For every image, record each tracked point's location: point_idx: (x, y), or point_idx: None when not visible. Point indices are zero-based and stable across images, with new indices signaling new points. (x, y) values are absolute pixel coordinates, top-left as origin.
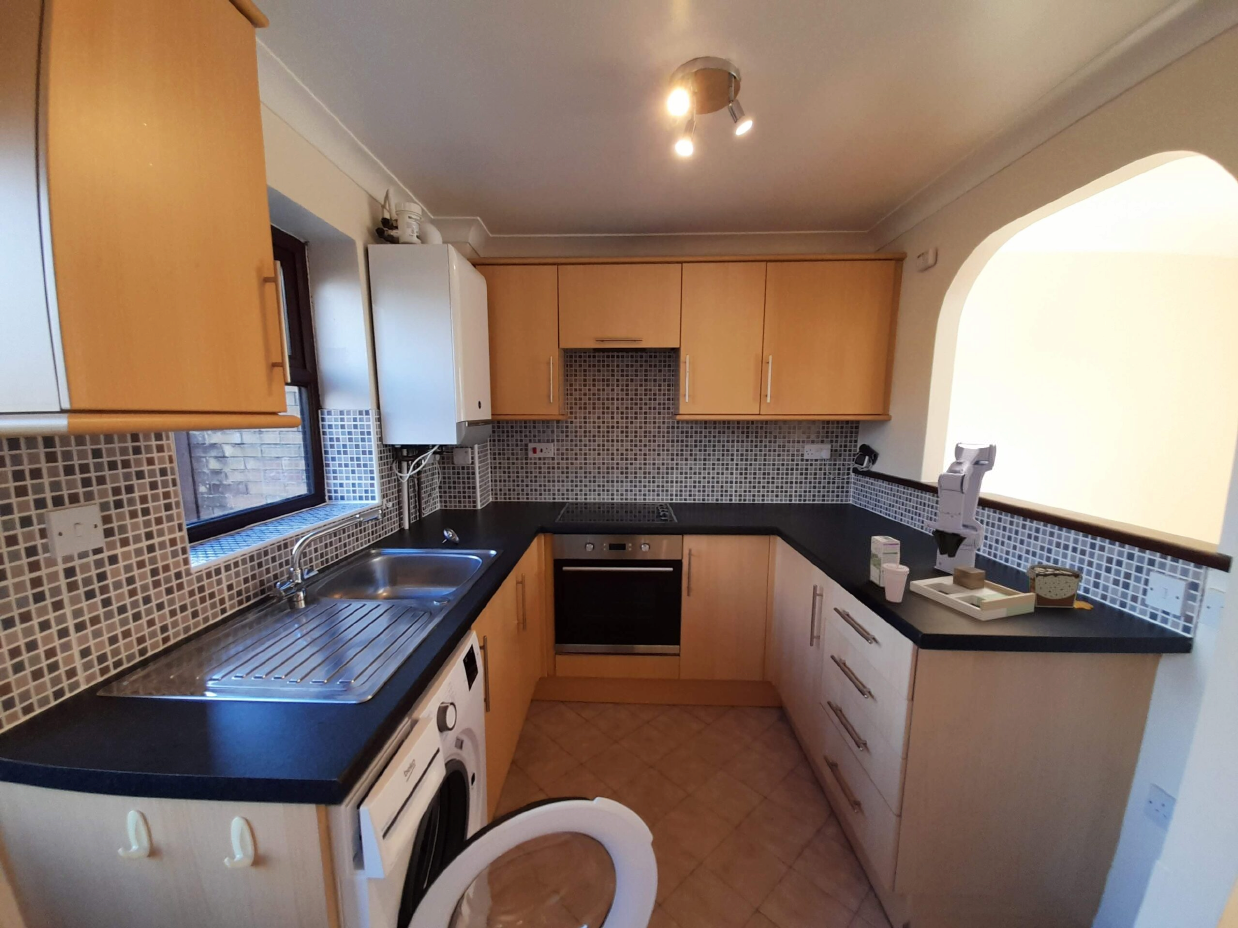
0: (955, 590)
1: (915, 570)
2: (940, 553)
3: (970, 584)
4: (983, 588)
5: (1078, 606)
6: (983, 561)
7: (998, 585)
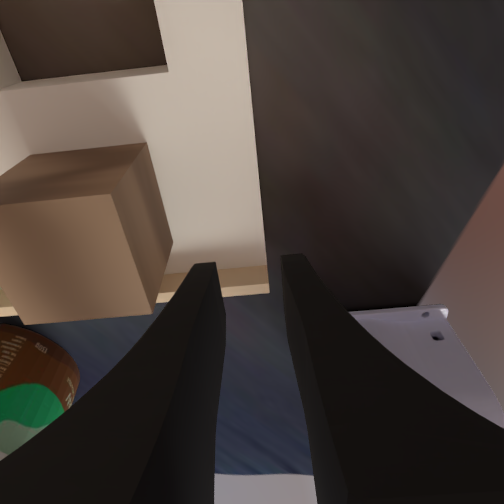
0: (66, 80)
1: (475, 193)
2: (293, 258)
3: (13, 167)
4: None
5: None
6: None
7: None
